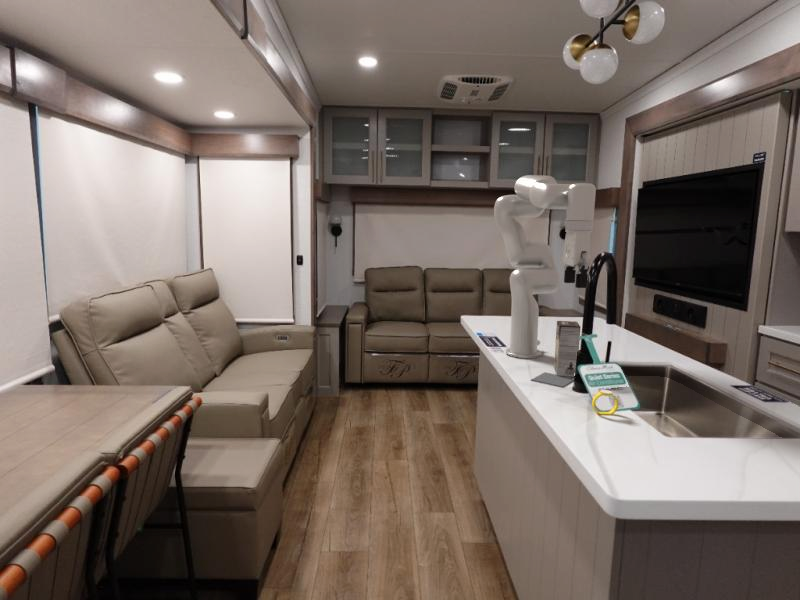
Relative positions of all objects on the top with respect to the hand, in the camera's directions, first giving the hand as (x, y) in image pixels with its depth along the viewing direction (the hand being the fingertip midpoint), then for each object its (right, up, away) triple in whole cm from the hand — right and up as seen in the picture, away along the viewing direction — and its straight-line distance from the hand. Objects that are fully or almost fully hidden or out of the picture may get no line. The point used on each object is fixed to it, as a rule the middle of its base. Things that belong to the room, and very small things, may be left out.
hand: (574, 285), depth 147 cm
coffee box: (+1, -28, +10) cm, 30 cm away
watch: (-1, -33, -23) cm, 40 cm away
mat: (-5, -29, +4) cm, 29 cm away
